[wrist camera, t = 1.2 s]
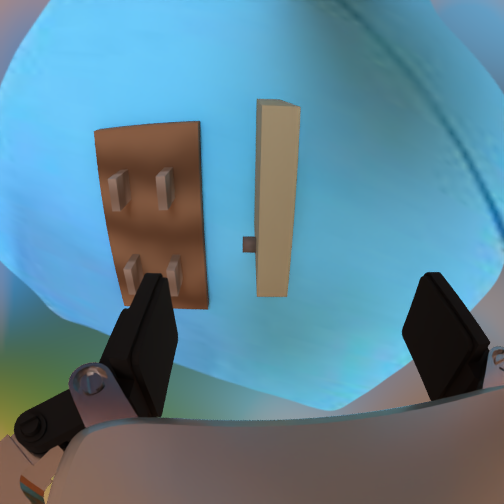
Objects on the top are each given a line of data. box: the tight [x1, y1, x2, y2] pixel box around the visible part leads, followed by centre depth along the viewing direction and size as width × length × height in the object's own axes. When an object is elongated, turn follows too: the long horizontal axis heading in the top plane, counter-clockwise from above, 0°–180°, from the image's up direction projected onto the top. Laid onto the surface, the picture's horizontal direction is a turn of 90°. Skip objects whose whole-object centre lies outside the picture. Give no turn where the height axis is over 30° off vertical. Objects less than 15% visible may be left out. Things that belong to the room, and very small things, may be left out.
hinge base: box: [94, 121, 209, 309], centre depth 30 cm, size 20×10×4 cm, turn 179°
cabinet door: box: [243, 99, 300, 297], centre depth 23 cm, size 12×3×12 cm, turn 179°
